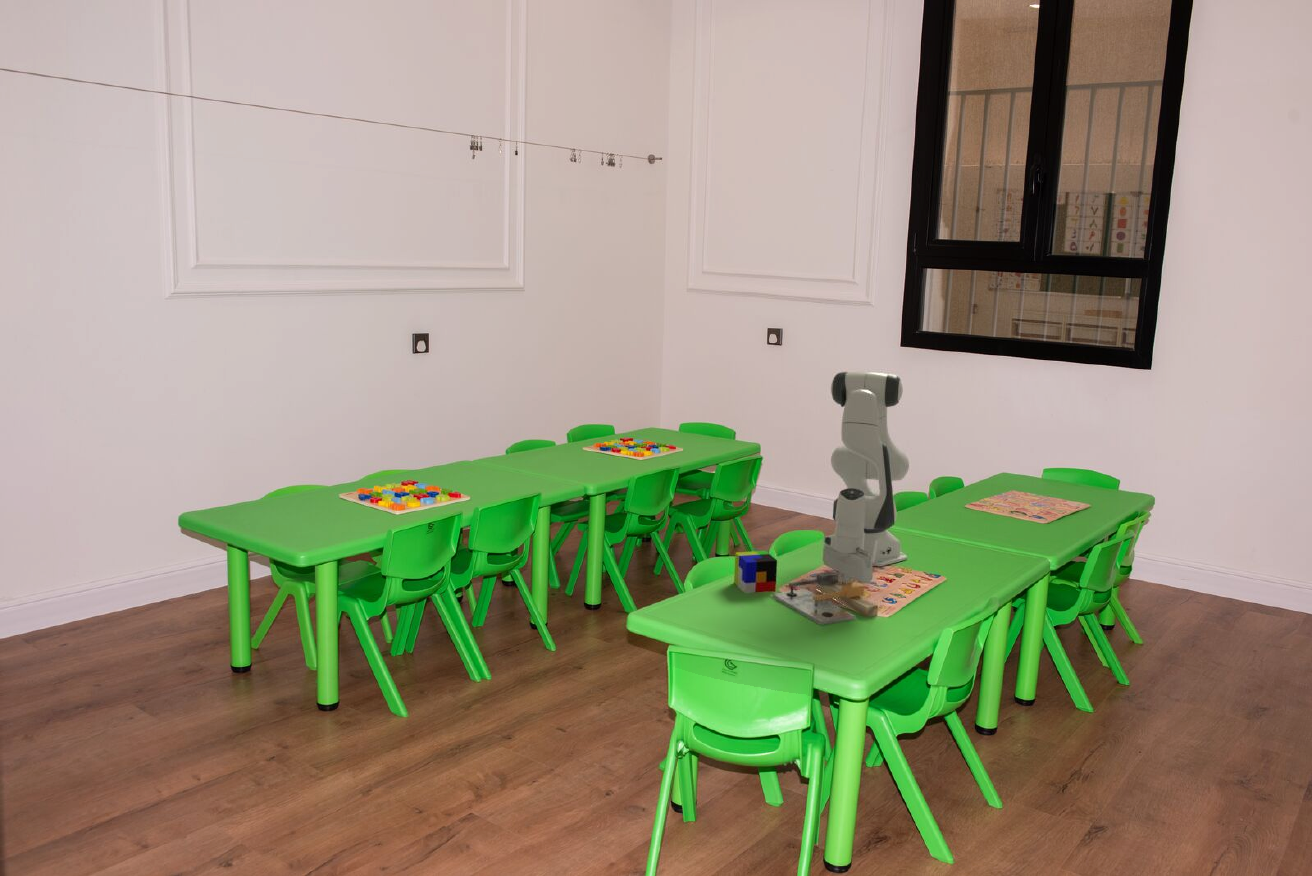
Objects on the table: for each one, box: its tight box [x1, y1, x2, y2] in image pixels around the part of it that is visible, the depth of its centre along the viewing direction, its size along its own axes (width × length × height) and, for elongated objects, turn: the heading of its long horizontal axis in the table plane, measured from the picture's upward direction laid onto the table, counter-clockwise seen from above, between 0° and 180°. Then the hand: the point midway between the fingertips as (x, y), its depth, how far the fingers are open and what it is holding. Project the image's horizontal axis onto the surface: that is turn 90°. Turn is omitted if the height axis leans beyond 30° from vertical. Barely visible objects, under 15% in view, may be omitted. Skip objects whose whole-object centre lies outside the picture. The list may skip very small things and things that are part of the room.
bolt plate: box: [772, 588, 856, 626], centre depth 308 cm, size 12×25×1 cm, turn 27°
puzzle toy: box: [733, 550, 778, 594], centre depth 324 cm, size 10×10×10 cm
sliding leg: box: [813, 582, 865, 607], centre depth 308 cm, size 17×3×5 cm, turn 117°
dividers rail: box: [788, 570, 879, 618], centre depth 310 cm, size 17×25×6 cm
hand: (845, 588), depth 313 cm, fingers closed
